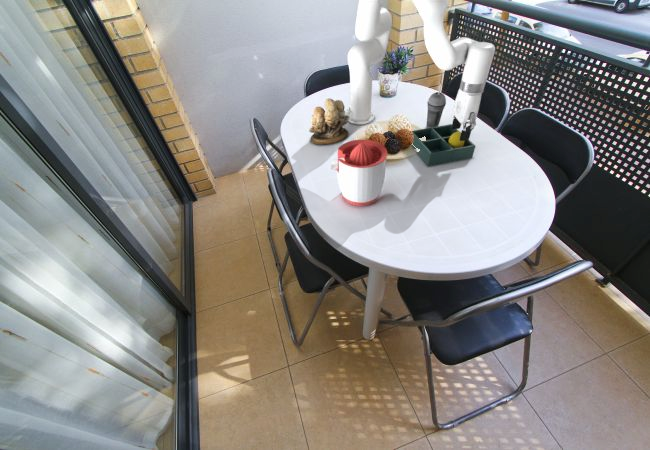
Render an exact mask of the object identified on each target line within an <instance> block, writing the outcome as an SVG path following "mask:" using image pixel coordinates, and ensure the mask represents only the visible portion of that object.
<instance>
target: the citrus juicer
mask: <svg viewBox="0 0 650 450" xmlns="http://www.w3.org/2000/svg"><path fill="white" fill-rule="evenodd" d="M388 156H389V155H388V150H387V148H386V146H385V145H383V144H382V143H380V142H378V141H376V140H371V139H353V140H349V141H347V142H344V143H342V144H341V145H339V147H337V158H336V159H334V160H332V163H331V166H330V170H331V171H337V181H338V187H339V189H340V193H341V195H342V197H343V199H344V200H345V201H346V202H347V203H348V204H350V205H353V206H357V207H365V206H369V205H371V204H373V203H375V202H376V201H377V199H378V198H379V196H380V195H381V192H382V189H383V187H384V184H385V183H384V182H385V177H386V166H387V157H388Z"/></svg>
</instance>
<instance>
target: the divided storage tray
mask: <svg viewBox="0 0 650 450" xmlns="http://www.w3.org/2000/svg"><path fill="white" fill-rule="evenodd" d="M451 127H452V123H450V124H449V123H448V124H443V125H439V126H438V127H432V128H427V127H426V128H421V129H414V130H411V131H412V132H413V135H414V142H413V145H414V146H415V147H416V148H418V149H420V151H419V152H416V153H417V155H418V156H419V157H420V158H421V160H422V161H423V162H424V163H425V164H426V166H427V167H432V166H437V165H438V166H439V165H442V164H448V163H454V162H459V161H464V160H469V159H472V158H473V156H474V153H475V149H476V144H475V143H473V141H471V140H470V139H469V140H467V141H464V145H463V147H461V148H455V149H453V148H452V147H451V146H450V145H449V144H448V143H449V138H450V136H451V135H452V134H453V133H455V132H457V131H459V132H461V131H460V130H459V129H452V128H451ZM424 136H425V137H426V141H421V140H420V139H419V138H422V137H424ZM413 145H410V146H411V148H412V149H413V150H414V149H416V148H415V147H414V146H413Z"/></svg>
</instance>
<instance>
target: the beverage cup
mask: <svg viewBox="0 0 650 450" xmlns="http://www.w3.org/2000/svg"><path fill="white" fill-rule="evenodd" d="M441 89H442V82H440V84H439V88H438V91H437V92H433V93H432V94H430V96H429V98H428V99H427V103H426V104H427V115H426V128H432V127H438V126H440V122H441V120H442V116H443V112H444V109H445V107H446V105H447V97H446V95H445V94H444V93H443V92H441Z"/></svg>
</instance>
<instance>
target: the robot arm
mask: <svg viewBox="0 0 650 450" xmlns="http://www.w3.org/2000/svg"><path fill="white" fill-rule="evenodd" d="M411 1H412V3H413V5H414V7H415V8H416V10H417V13H418V14H419V16H420V18H421V20H422V22H423V40H424V45H425V48H426V50H427V53H428V55H429V56H430V58H431V60H432V61H433V63H434V64H435V66H436V67H437V68H438V69H440V70H441V71H451V70H453V69H454V68H457V67H458V66H461V65H464V67H463V71H462V76H461V80H460V84H459V89H458V90H457V94H456V97H455V101H454V103H453V107H452V114H453V119H452V123H451V124H452V127H451V128H452V129H458V130H459V129H461V127H462V130H461V131H460V132H461V136H460V141H467V140H470V137H471V133H472V132H473V130H474V129H475V128H476V126H477V121H476V120H477V117H478V113H479V110H480V107H481V100H482V94H483V93H484V90H485V87H486V83H487V80H488V77H489V74H490V70H491V66H492V63H493V59H494V55H495V52H496V47H495V45H494V44H493V43H490V42H486V41H477V40H474V39H472V38H470V37H465V36H462V37H458V38H456V39H454V40H452V41H451V40H450V38H449V37H448V35H447V32H446V29H445V26H444V18H445V14H446V12H447V9H448V8H449V0H411ZM382 5H383V0H358V3H357V10H356V17H355V25H354V34H355V37H356V39H357V40H358V41H360V42H357V43H356V44H354V45H352V46H351V48H349V50H348V52H347V64H348V68H349V70H348V72H349V91H350V92H349V104H350V105H349V107H348V109H346V110H344V111H345V115H348V116H349V117H348V118H349V120H348V121H347V122H348V123H350V124H354V125H367V124H370V123H372V122H374V120H375V114H374V113H373V112H372V101H373V100H372V98H373V97H372V96H373V75H372V72H371V70H370V67H372V66H373V65H376V64H378V63H379V62H382V60H383V59H384V58H385V56H386V53H387V51H388V46H389V40H390V37H391V32H392V26H393V19H392V15H391V13H390V11H389V10H388V9H387V8H386V7H383V6H382ZM468 124H469V125H468Z"/></svg>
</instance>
